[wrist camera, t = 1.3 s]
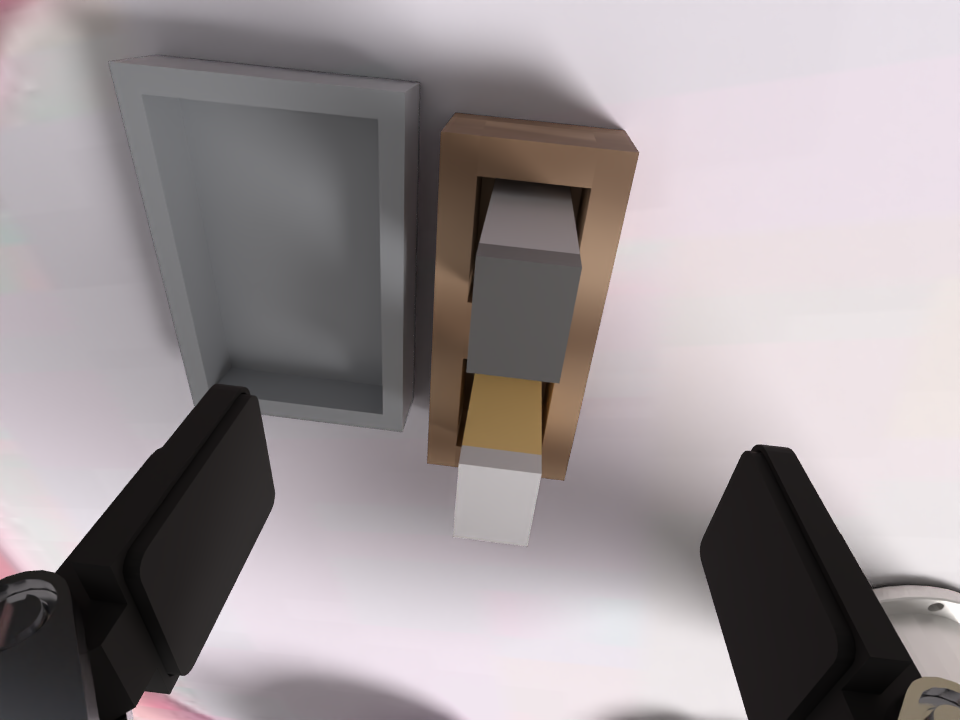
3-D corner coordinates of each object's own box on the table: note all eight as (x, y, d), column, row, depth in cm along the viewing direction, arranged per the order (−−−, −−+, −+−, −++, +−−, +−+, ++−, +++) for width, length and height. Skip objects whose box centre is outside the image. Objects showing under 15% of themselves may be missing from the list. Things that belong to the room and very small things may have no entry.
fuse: (530, 408, 30) (527, 546, 22) (475, 401, 30) (452, 537, 22) (541, 344, 28) (541, 474, 20) (481, 337, 28) (458, 463, 20)
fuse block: (561, 429, 32) (564, 480, 28) (439, 414, 32) (427, 463, 28) (624, 130, 23) (639, 152, 20) (455, 112, 23) (440, 131, 20)
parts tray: (413, 397, 31) (402, 432, 29) (221, 374, 32) (194, 406, 29) (419, 82, 23) (404, 92, 20) (155, 54, 23) (108, 61, 20)
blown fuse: (554, 269, 25) (559, 383, 18) (488, 262, 25) (466, 372, 18) (568, 181, 23) (582, 267, 16) (497, 173, 23) (476, 255, 16)
